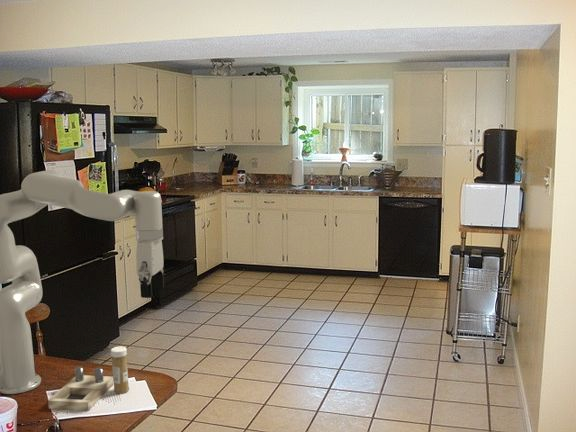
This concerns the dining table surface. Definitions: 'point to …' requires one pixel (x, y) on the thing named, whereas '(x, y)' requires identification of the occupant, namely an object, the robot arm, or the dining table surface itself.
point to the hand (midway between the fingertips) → (152, 292)
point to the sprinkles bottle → (119, 369)
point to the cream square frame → (81, 391)
